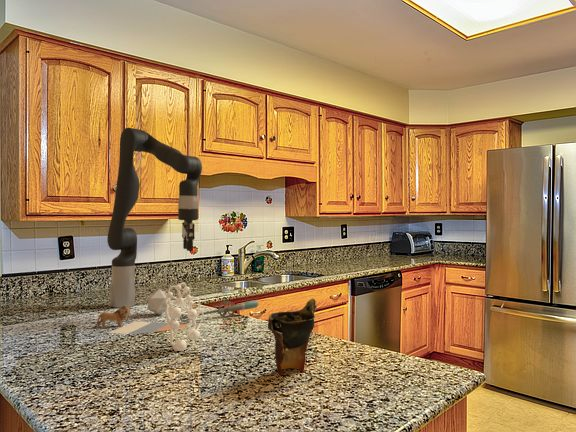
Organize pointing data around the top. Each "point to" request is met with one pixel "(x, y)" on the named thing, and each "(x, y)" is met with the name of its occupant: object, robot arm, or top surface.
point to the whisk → (228, 308)
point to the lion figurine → (114, 316)
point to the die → (158, 302)
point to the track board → (142, 327)
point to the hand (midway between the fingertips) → (188, 249)
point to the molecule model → (176, 313)
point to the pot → (292, 336)
